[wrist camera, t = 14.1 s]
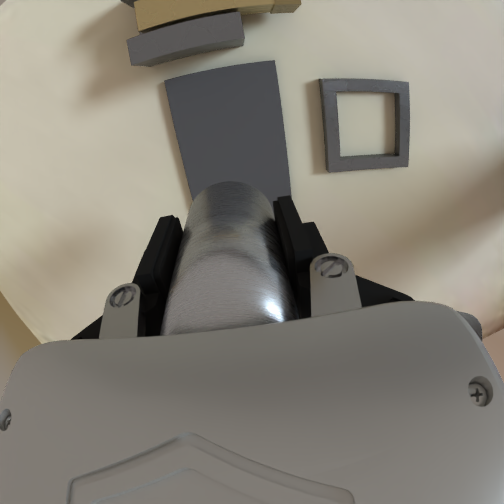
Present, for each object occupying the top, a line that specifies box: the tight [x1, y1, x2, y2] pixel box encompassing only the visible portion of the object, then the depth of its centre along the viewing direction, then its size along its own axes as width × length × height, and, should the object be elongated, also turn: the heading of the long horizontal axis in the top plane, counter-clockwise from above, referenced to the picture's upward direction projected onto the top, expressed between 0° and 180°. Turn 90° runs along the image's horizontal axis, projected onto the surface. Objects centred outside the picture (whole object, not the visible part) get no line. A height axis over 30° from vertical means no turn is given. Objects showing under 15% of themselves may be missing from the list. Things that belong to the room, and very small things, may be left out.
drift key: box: [134, 0, 301, 34], centre depth 12 cm, size 10×3×3 cm, turn 98°
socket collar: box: [319, 79, 410, 173], centre depth 19 cm, size 8×8×1 cm
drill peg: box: [160, 181, 299, 336], centre depth 9 cm, size 4×4×9 cm
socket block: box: [121, 0, 245, 67], centre depth 12 cm, size 7×7×4 cm
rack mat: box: [164, 60, 292, 218], centre depth 21 cm, size 8×15×1 cm, turn 8°
